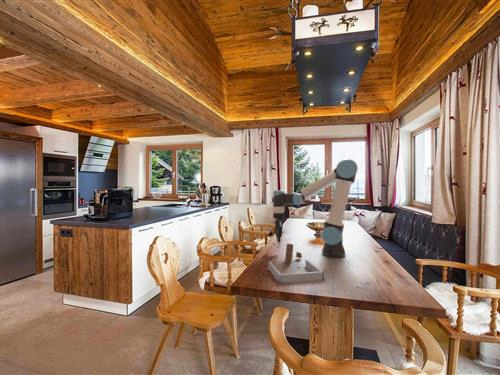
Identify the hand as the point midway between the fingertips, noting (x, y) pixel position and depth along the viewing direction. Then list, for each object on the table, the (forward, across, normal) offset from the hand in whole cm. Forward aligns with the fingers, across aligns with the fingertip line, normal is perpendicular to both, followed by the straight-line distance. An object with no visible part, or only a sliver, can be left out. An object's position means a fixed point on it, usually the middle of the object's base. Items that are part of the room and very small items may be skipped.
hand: (278, 246), depth 175 cm
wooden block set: (+6, +18, +3) cm, 19 cm away
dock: (+5, +38, -2) cm, 38 cm away
